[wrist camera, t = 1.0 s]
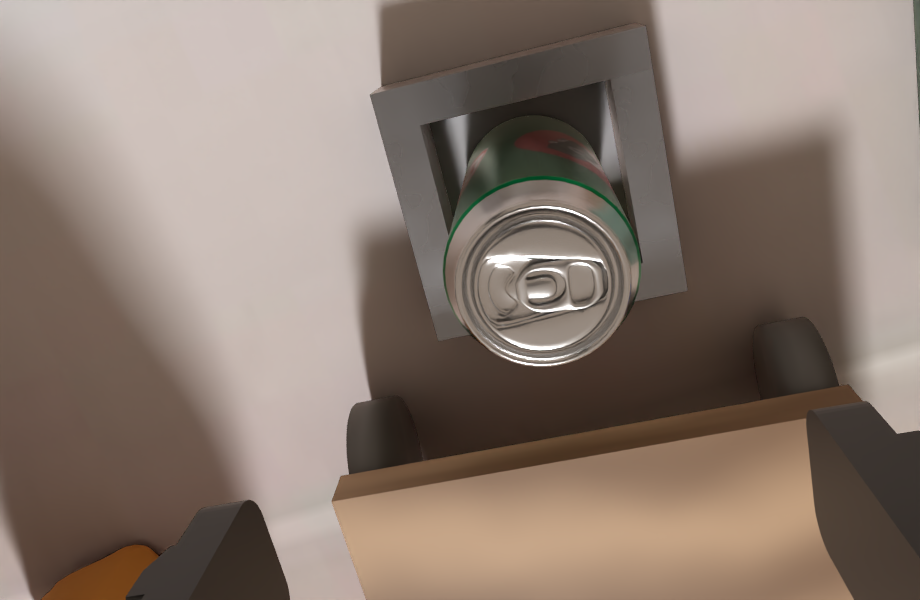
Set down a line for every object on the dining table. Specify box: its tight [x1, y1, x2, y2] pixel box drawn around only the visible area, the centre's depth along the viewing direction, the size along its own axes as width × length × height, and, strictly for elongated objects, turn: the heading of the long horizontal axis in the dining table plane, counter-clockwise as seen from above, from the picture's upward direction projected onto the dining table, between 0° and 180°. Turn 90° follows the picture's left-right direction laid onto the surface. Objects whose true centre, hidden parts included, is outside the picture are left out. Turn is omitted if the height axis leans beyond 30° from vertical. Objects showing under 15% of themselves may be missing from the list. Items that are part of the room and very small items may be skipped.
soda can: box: [443, 115, 641, 367], centre depth 25 cm, size 5×5×12 cm
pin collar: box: [370, 23, 688, 341], centre depth 30 cm, size 9×9×2 cm
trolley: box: [332, 317, 862, 600], centre depth 32 cm, size 14×18×7 cm
